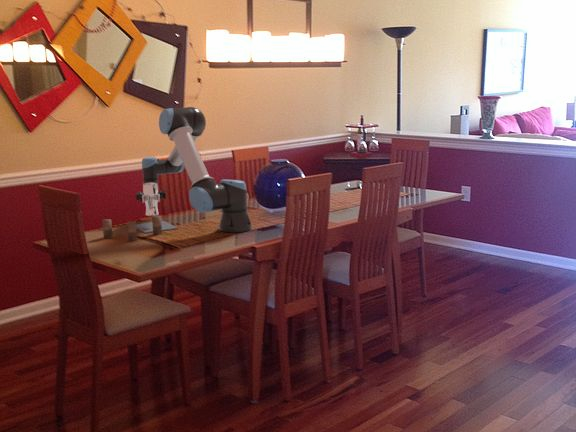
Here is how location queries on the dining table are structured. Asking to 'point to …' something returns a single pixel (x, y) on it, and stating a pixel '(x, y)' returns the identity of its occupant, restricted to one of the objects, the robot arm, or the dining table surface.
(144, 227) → the slate mat
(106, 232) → the walnut spacer posts
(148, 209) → the beer glass
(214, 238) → the dining table surface
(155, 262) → the dining table surface
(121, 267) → the dining table surface
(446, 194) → the dining table surface
